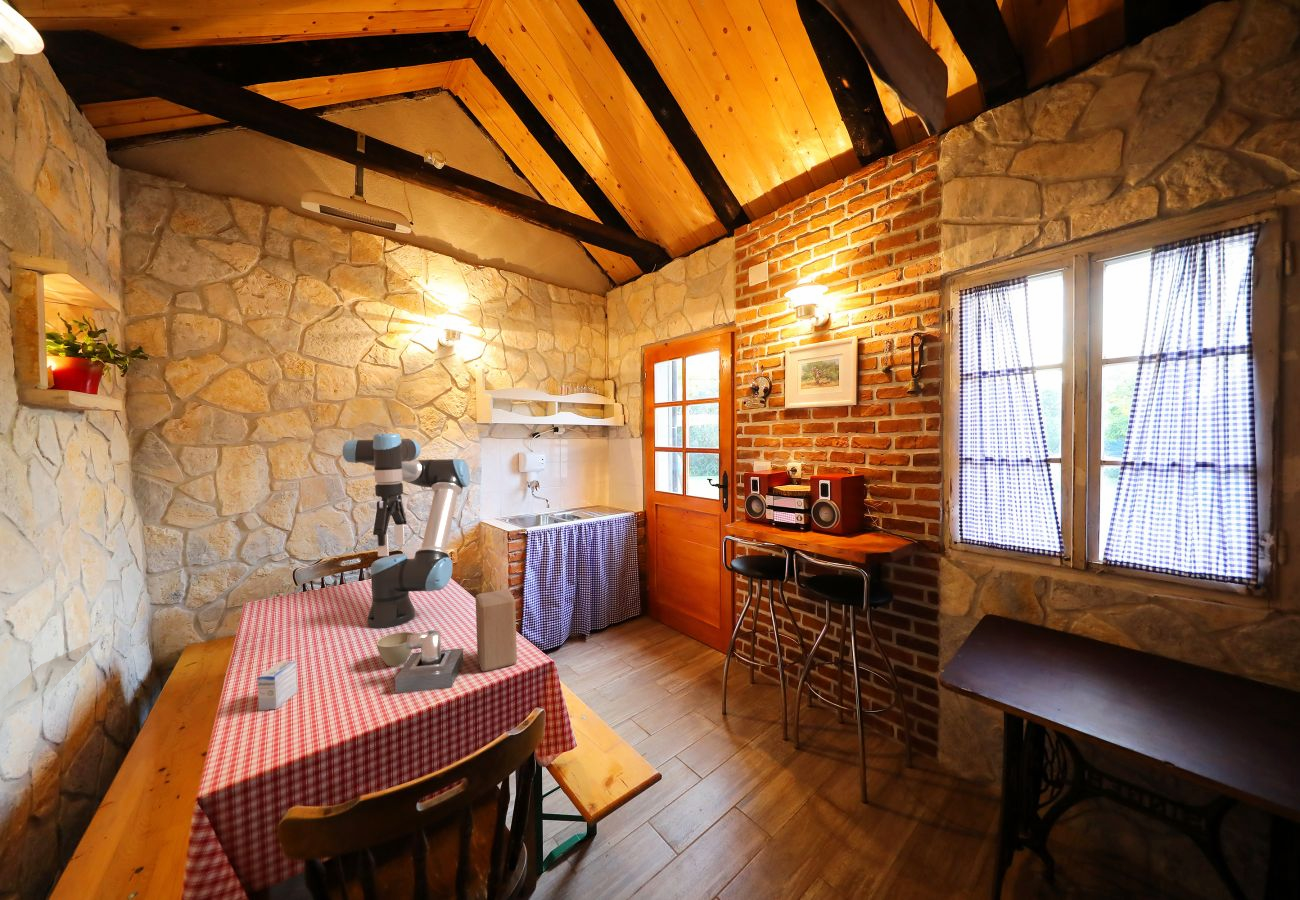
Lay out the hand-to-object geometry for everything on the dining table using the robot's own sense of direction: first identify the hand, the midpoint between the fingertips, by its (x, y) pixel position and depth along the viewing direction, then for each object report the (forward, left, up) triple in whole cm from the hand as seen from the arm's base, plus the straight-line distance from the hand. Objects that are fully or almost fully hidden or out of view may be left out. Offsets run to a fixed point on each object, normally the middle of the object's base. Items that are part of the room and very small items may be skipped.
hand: (391, 550), depth 144 cm
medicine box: (+24, -20, -32) cm, 45 cm away
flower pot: (+9, +3, -32) cm, 33 cm away
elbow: (+20, +14, -32) cm, 40 cm away
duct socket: (+20, +16, -32) cm, 41 cm away
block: (+15, +33, -32) cm, 48 cm away
